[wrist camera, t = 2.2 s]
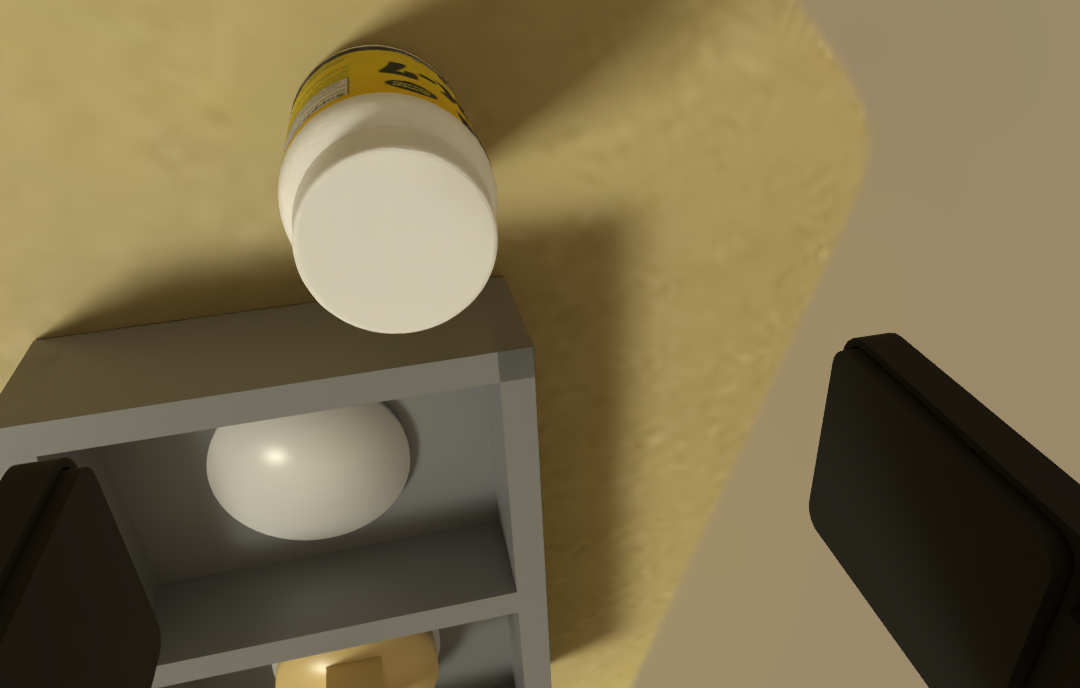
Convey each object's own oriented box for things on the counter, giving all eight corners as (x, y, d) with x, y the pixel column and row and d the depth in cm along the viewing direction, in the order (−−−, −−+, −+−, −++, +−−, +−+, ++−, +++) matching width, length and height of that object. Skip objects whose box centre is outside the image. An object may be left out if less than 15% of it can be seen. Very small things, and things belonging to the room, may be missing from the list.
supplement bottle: (495, 129, 23) (567, 244, 16) (384, 240, 24) (406, 393, 17) (370, 0, 21) (392, 69, 14) (252, 128, 22) (214, 255, 15)
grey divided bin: (33, 340, 23) (-78, 518, 17) (503, 276, 26) (560, 411, 19) (210, 743, 34) (181, 946, 27) (532, 671, 36) (575, 843, 30)
